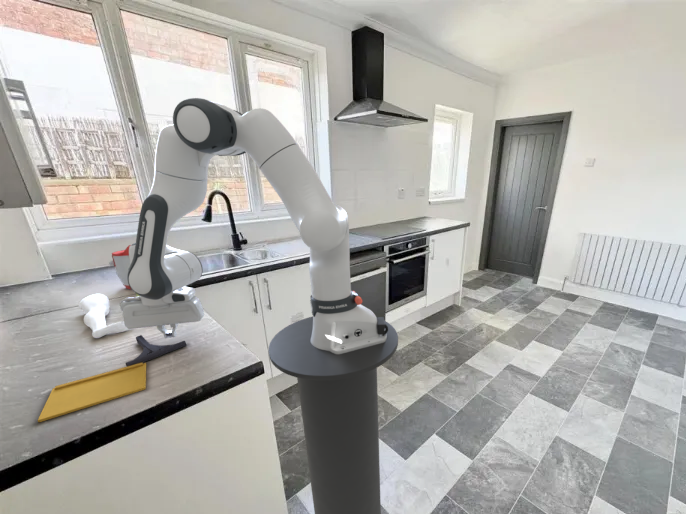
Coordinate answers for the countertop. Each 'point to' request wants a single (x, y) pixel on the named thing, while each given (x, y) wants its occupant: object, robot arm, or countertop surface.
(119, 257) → the citrus juicer
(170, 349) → the bracket
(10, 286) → the countertop surface
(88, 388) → the tray
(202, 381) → the countertop surface
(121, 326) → the leg
